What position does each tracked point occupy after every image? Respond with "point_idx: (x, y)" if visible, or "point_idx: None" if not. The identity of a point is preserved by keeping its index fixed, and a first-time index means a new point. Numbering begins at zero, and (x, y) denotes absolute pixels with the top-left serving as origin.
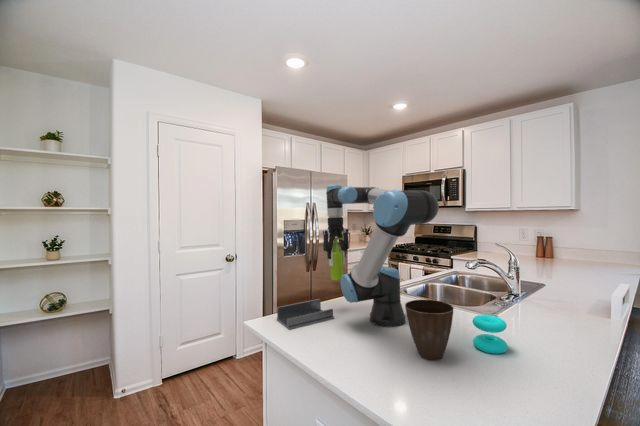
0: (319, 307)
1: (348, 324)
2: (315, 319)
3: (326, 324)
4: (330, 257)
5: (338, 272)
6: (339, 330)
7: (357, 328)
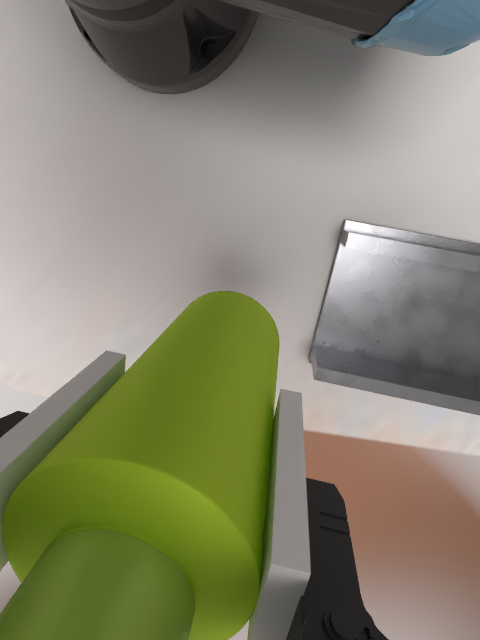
0: (321, 350)
1: (357, 102)
2: (452, 249)
3: (429, 188)
4: (313, 499)
5: (242, 320)
6: (455, 69)
7: None
